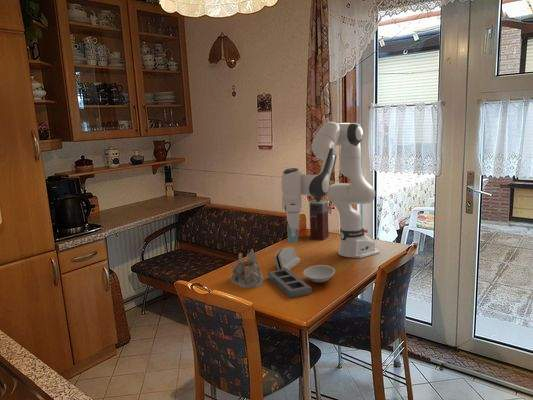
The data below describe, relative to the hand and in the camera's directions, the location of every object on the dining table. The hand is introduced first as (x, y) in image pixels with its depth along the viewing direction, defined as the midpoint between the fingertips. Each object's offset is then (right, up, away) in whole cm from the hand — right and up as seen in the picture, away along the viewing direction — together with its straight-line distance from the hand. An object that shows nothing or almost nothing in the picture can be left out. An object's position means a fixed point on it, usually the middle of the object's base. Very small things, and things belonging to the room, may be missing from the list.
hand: (292, 234), depth 189 cm
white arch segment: (-1, -19, +26) cm, 32 cm away
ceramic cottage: (-21, -23, +7) cm, 32 cm away
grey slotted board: (-2, -23, 0) cm, 23 cm away
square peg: (0, -3, +1) cm, 3 cm away
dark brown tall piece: (+21, -9, +72) cm, 76 cm away
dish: (+13, -22, +2) cm, 26 cm away
